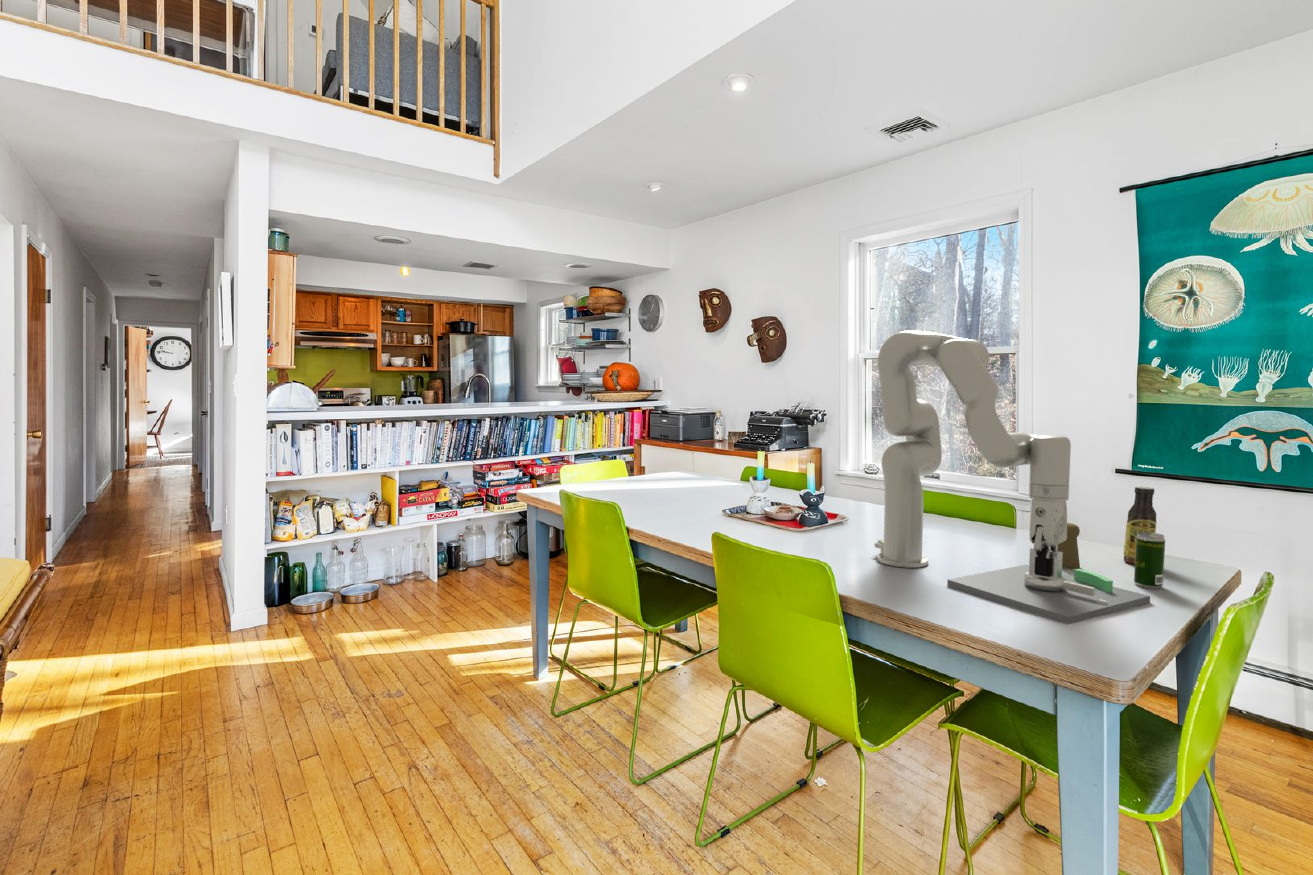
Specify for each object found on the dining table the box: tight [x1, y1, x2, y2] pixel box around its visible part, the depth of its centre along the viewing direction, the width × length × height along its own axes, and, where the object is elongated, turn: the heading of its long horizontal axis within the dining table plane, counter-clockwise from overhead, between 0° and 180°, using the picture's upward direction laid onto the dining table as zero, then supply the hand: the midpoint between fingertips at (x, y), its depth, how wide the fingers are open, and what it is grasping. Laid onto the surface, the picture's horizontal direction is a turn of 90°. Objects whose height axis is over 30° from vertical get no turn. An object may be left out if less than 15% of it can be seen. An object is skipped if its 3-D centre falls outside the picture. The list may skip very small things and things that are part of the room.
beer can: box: [1133, 532, 1166, 590], centre depth 153 cm, size 5×5×12 cm
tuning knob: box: [1024, 546, 1095, 596], centre depth 145 cm, size 14×8×8 cm, turn 32°
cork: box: [1057, 522, 1081, 570], centre depth 170 cm, size 6×6×11 cm
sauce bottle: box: [1123, 486, 1157, 565], centre depth 172 cm, size 7×6×20 cm
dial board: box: [946, 564, 1151, 625], centre depth 147 cm, size 28×28×4 cm
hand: (1045, 573), depth 147 cm, fingers closed on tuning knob, 2 cm apart
